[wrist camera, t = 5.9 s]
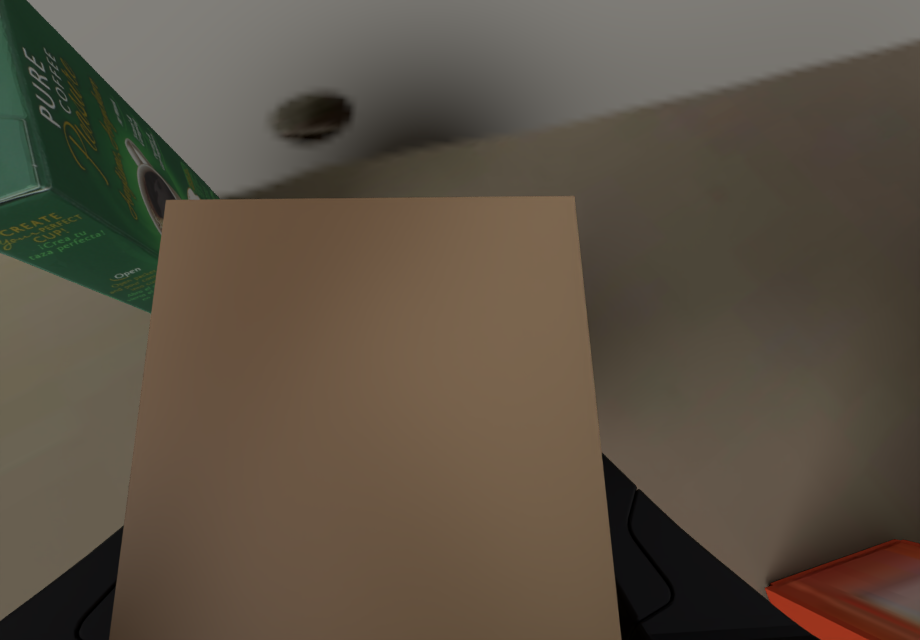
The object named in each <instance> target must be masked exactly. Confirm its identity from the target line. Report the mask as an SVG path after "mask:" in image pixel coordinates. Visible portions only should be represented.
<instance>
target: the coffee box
mask: <svg viewBox="0 0 920 640" xmlns="http://www.w3.org/2000/svg"><path fill="white" fill-rule="evenodd" d="M213 199H219V197H218V196H217V195H216V194H215V193H214V192H213V191H212V190H211V189H210V187H209V186H208V185H207V184H206V183H205V182H204V181H203V180H202V179H201V178H200V177H199V176H198V175H197V174H196V173H195V172H194V171H193V170H192V169H191V168H190V167H189V166H188V165H187V164H186V163H185V162H184V160H182V158H181V157H180V156H178V154H177V153H176V152H175V151H174V150H173V149H172V148H171V147H170V146H169V145H168V144H167V143H166V142H165V141H164V140H163V139H162V138H161V137H160V136H159V135H158V134H157V133H156V132H155V131H154V130H153V129H152V128H151V127H150V126H149V125H148V124H147V123H146V122H145V121H144V120H143V119H142V118H141V117H140V116H139V115H138V114H137V113H136V112H135V111H134V110H133V109H132V108H131V107H130V106H129V105H128V104H127V103H126V102H125V101H124V100H123V98H122V97H121V96H120V95H118V93H117V92H116V91H115V90H114V89H113V88H112V87H111V86H110V85H109V84H108V83H107V82H106V81H104V79H103V78H102V77H101V76H100V75H99V74H98V73H97V72H96V71H95V70H94V69H93V68H92V67H91V66H90V65H89V64H88V63H87V62H86V61H85V60H84V59H83V58H82V57H81V56H80V55H79V54H78V53H77V51H75V49H74V48H73V47H72V46H71V45H70V44H69V43H67V41H66V40H65V39H64V38H63V37H62V36H61V35H60V34H59V33H58V32H57V31H56V30H55V29H54V28H53V27H52V26H51V25H50V24H49V23H48V22H47V21H46V20H45V19H44V18H43V17H42V16H41V15H40V14H39V13H38V12H37V11H36V10H35V9H34V8H33V7H32V6H31V5H30V3H29V2H28V1H27V0H0V253H2V254H5V255H7V256H10V257H13V258H15V259H17V260H20V261H22V262H25V263H27V264H30V265H32V266H35V267H37V268H40V269H42V270H45V271H47V272H50V273H52V274H54V275H57V276H59V277H62V278H64V279H66V280H69V281H71V282H74V283H77V284H79V285H81V286H84V287H86V288H89V289H92V290H94V291H96V292H99V293H101V294H104V295H107V296H109V297H111V298H114V299H116V300H119V301H121V302H124V303H126V304H129V305H132V306H134V307H136V308H139V309H141V310H144V311H146V312H149V313H151V312H152V304H153V296H154V289H155V281H156V273H157V265H158V258H159V250H160V242H161V234H162V227H163V219H164V211H165V204H166V200H213Z"/></svg>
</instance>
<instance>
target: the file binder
mask: <svg viewBox="0 0 920 640" xmlns="http://www.w3.org/2000/svg"><path fill="white" fill-rule="evenodd" d="M770 585H771V586H769V587H766V588H765V590H766V592H767V595H768V598H769V600H770V603H772V604H773V605H774V606H775V607H777V608H778V609H779V610H780V611H781V612H783V613H784V614H785V615H786V616H788V617H789V618H790V619H792V620H793V621H794V622H795V623H797V624H798V625H800V626H801V627H802V628H804V629H805V630H807V631H808V632H810V633H811V634H813V635H814V636H816V637H817V638H819V639H821V640H920V544H919V543H915V542H911V541H907V540H901V541H900V540H896V539H894V540H891V541H888V542H885V543H882V544H880V545H877V546H874V547H871V548H868V549H866V550H863V551H860V552H857V553H854V554H851V555H849V556H846V557H843V558H840V559H837V560H834V561H832V562H829V563H826V564H823V565H820V566H818V567H815V568H812V569H809V570H806V571H803V572H801V573H798V574H795V575H792V576H789V577H787V578H784V579H781V580H778V581H775V582H772V583H770Z"/></svg>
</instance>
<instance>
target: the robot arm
mask: <svg viewBox="0 0 920 640" xmlns="http://www.w3.org/2000/svg"><path fill="white" fill-rule="evenodd" d="M602 461H603V471H604V480H605V490H606V499H607V509H608V518H609V527H610V537H611V546H612V556H613V565H614V574H615V584H616V593H617V603H618V612H619V622H620V631H621V640H821V639H819V638H817V637H816V636H814V635H813V634H811V633H810V632H808V631H807V630H805V629H804V628H802V627H801V626H800V625H798V624H797V623H795V622H794V621H793V620H792V619H790V618H789V617H788V616H786V615H785V614H784V613H783V612H781V611H780V610H779V609H778V608H777V607H775V606H774V605H773V604H772V603H770V602H769V601H768V600H767V599H766V598H764V597H763V596H762V595H761V594H760V593H758V592H757V591H756V590H755V589H753V588H752V587H751V586H750V585H749V584H747V583H746V582H745V581H744V580H742V579H741V578H740V577H739V576H738V575H736V574H735V573H734V572H733V571H732V570H730V569H729V568H728V567H727V566H725V565H724V564H723V563H722V562H721V561H719V560H718V559H717V558H716V557H714V556H713V555H712V554H711V553H710V552H708V551H707V550H706V549H705V548H704V547H703V546H701V545H700V544H699V543H698V542H697V541H696V540H694V539H693V538H692V537H691V536H690V535H689V534H687V533H686V532H685V531H684V530H683V529H681V528H680V527H679V526H678V525H677V524H676V523H675V522H674V521H673V520H672V519H671V518H669V517H668V516H667V515H666V514H665V513H664V512H663V511H662V510H661V509H660V508H659V507H658V506H657V505H656V504H654V503H653V502H652V501H651V500H650V499H649V498H648V497H647V496H646V495H645V494H644V493H643V492H642V491H641V490H640V489H638V490H637V486H636V485H635V484H634V483H633V482H632V481H631V480H630V479H629V478H628V477H627V476H626V475H625V474H624V473H622V472H621V471H620V470H619V469H618V468H617V467H616V466H615V465H614V464H613V463H612V462H611V461H610V460H609V459H608V458H607V457H606V456H605V455H604V454H603V453H602ZM123 528H124V525H123V526H122V527H121V528H120V529H119V530H118V531H116V532H115V533H114V534H113V535H111V536H110V537H109V538H108V539H106V540H105V541H104V542H103V543H102V544H100V545H99V546H98V547H97V548H95V549H94V550H93V551H92V552H91V553H89V554H88V555H87V556H86V557H84V558H83V559H82V560H80V561H79V562H78V563H77V564H75V565H74V566H73V567H71V568H70V569H69V570H67V571H66V572H65V573H63V574H62V575H61V576H60V577H58V578H57V579H56V580H54V581H53V582H52V583H50V584H49V585H48V586H47V587H45V588H44V589H43V590H41V591H40V592H39V593H37V594H36V595H34V596H33V597H32V598H30V599H29V600H28V601H26V602H25V603H24V604H22V605H21V606H20V607H18V608H17V609H16V610H14V611H13V612H12V613H10V614H9V615H8V616H6V617H5V618H4V619H2V620H1V621H0V640H109V637H110V629H111V621H112V613H113V606H114V598H115V590H116V582H117V575H118V567H119V559H120V551H121V544H122V536H123Z"/></svg>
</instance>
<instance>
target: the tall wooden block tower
mask: <svg viewBox="0 0 920 640" xmlns="http://www.w3.org/2000/svg"><path fill="white" fill-rule="evenodd" d="M109 640H621V631H620V622H619V612H618V603H617V593H616V584H615V574H614V565H613V556H612V546H611V537H610V527H609V518H608V509H607V499H606V490H605V480H604V471H603V461H602V452H601V443H600V433H599V424H598V414H597V405H596V395H595V386H594V377H593V367H592V358H591V348H590V339H589V330H588V320H587V311H586V301H585V292H584V282H583V273H582V264H581V254H580V245H579V235H578V226H577V216H576V207H575V198H574V196H517V197H416V198H314V199H213V200H166V204H165V211H164V219H163V227H162V234H161V242H160V250H159V258H158V265H157V273H156V281H155V289H154V296H153V304H152V312H151V320H150V327H149V335H148V343H147V350H146V358H145V366H144V374H143V381H142V389H141V397H140V405H139V412H138V420H137V428H136V435H135V443H134V451H133V459H132V466H131V474H130V482H129V490H128V497H127V505H126V513H125V521H124V528H123V536H122V544H121V551H120V559H119V567H118V575H117V582H116V590H115V598H114V606H113V613H112V621H111V629H110V637H109Z"/></svg>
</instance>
